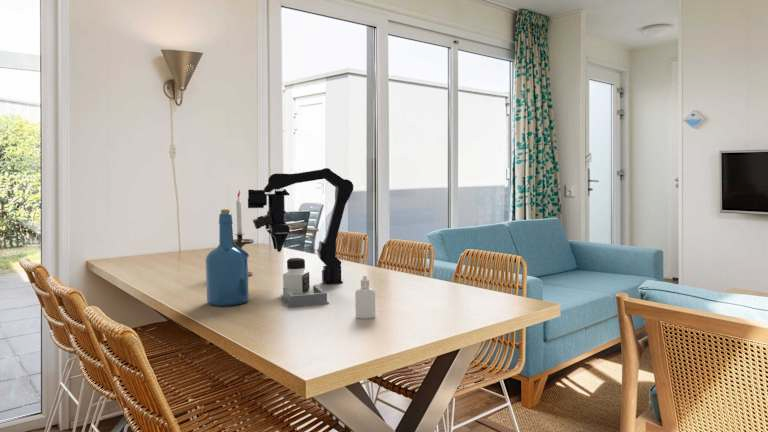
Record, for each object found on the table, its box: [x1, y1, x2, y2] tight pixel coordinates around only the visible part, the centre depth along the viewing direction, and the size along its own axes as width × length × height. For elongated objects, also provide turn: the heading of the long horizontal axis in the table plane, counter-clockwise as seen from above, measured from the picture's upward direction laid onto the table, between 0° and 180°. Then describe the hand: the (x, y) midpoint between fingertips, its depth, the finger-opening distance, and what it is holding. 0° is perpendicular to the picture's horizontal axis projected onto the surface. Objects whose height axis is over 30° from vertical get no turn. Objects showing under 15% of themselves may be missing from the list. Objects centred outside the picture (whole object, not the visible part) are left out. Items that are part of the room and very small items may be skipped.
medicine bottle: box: [282, 257, 311, 295], centre depth 192 cm, size 7×7×12 cm
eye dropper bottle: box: [354, 274, 376, 320], centre depth 157 cm, size 4×6×12 cm
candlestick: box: [233, 189, 254, 278], centre depth 226 cm, size 11×11×35 cm
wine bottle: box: [205, 208, 250, 307], centre depth 178 cm, size 14×13×30 cm
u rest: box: [281, 284, 330, 308], centre depth 179 cm, size 14×13×3 cm
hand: (277, 250), depth 204 cm, fingers open, 8 cm apart
